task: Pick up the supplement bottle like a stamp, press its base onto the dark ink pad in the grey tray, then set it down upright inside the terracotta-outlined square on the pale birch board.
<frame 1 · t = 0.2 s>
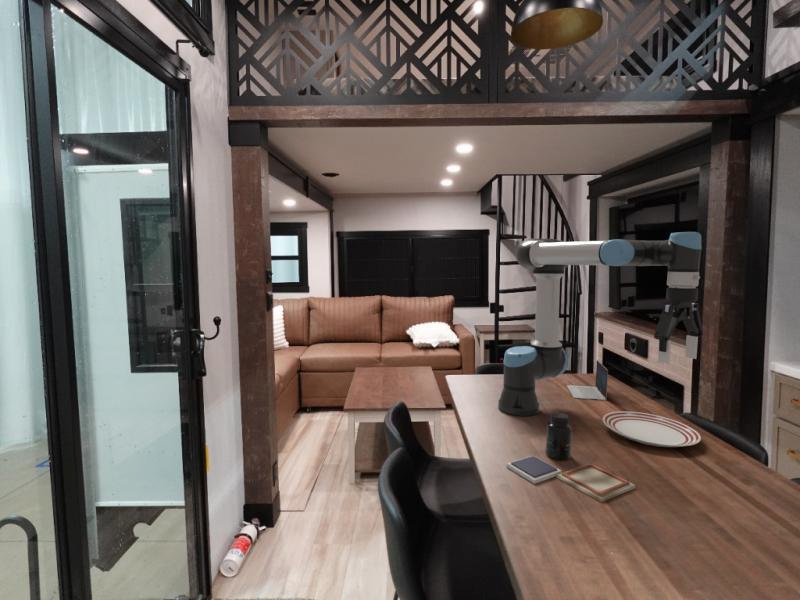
hand: (677, 360, 122), 28 cm above the table, tool pointing down, fingers open, 13 cm apart
supplement bottle: (558, 456, 122), on the table
ink pad: (533, 470, 114), on the table
dinner plate: (648, 436, 137), on the table
laptop: (585, 394, 181), on the table
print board: (594, 482, 107), on the table
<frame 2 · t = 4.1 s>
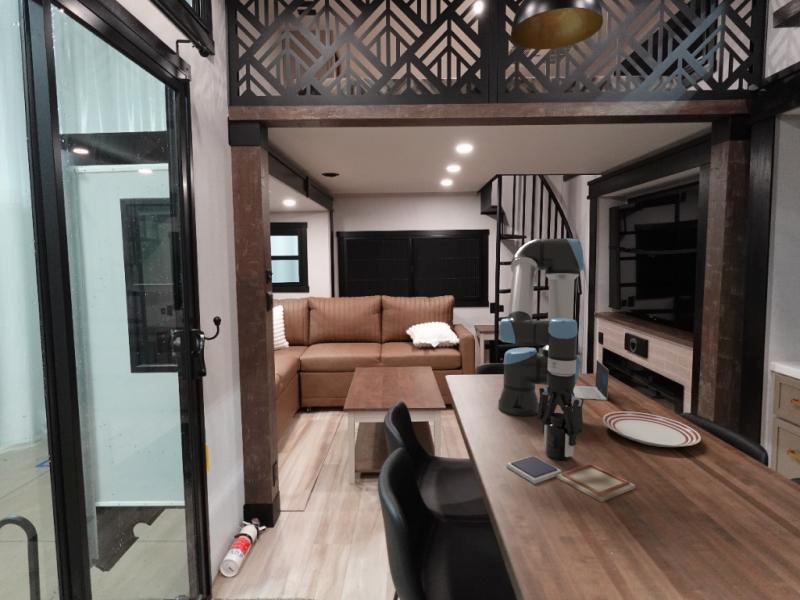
hand: (558, 450, 122), 2 cm above the table, tool pointing down, fingers closed on supplement bottle, 7 cm apart
supplement bottle: (558, 456, 122), on the table, touching gripper
everything else where it was.
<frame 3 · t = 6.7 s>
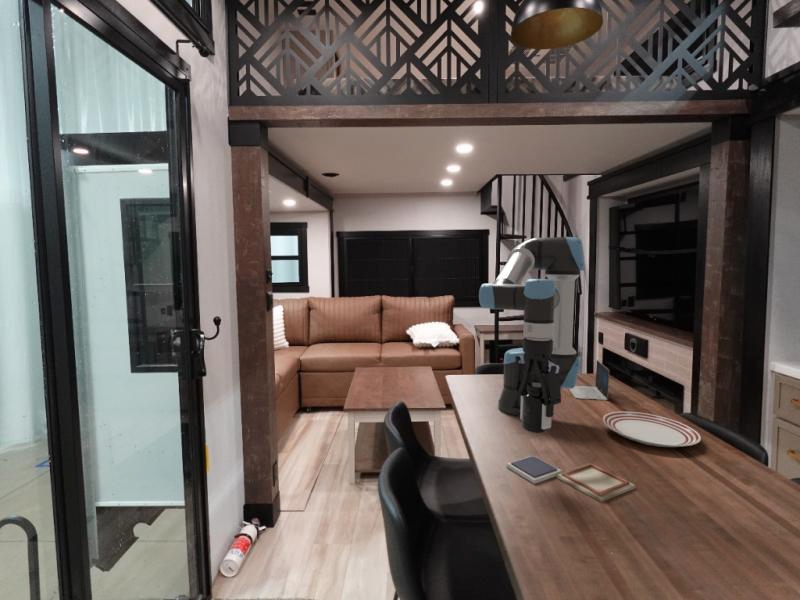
hand: (535, 423, 112), 13 cm above the table, tool pointing down, fingers closed on supplement bottle, 7 cm apart
supplement bottle: (534, 429, 112), point 11 cm above the table, touching gripper
everything else where it was.
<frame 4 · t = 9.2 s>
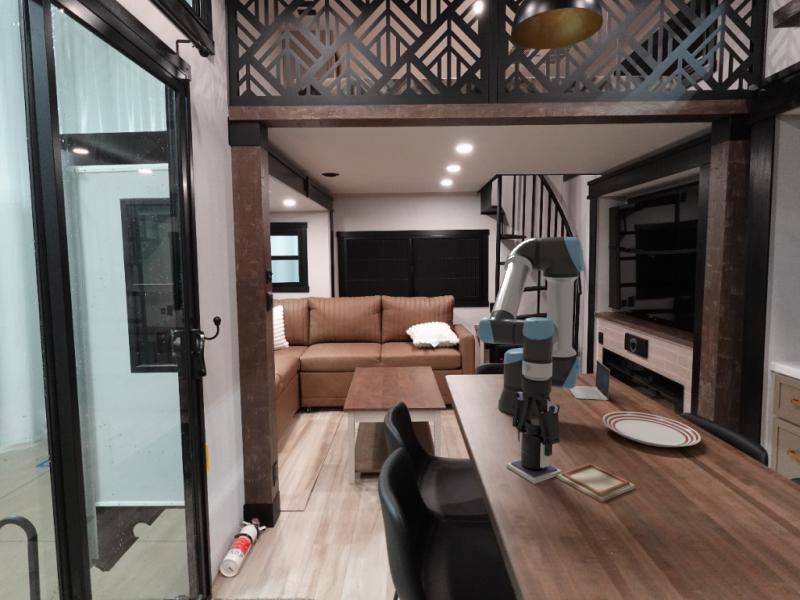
hand: (533, 460, 113), 3 cm above the table, tool pointing down, fingers closed on supplement bottle, 7 cm apart
supplement bottle: (533, 466, 113), point 1 cm above the table, touching gripper, ink pad
everything else where it was.
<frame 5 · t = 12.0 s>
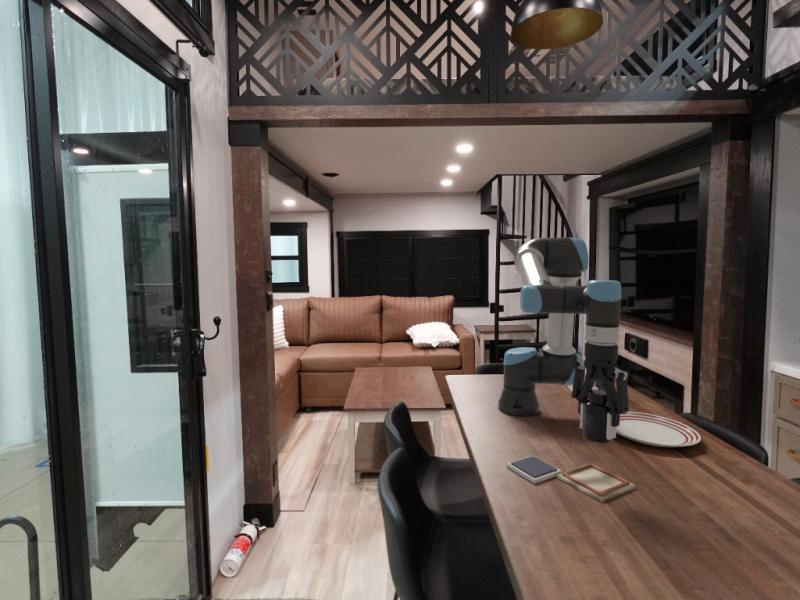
hand: (597, 432, 106), 13 cm above the table, tool pointing down, fingers closed on supplement bottle, 7 cm apart
supplement bottle: (596, 439, 106), point 12 cm above the table, touching gripper
everything else where it was.
when the fingers open (3 cm above the table, at t = 14.5 s): supplement bottle stays where it is, resting on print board.
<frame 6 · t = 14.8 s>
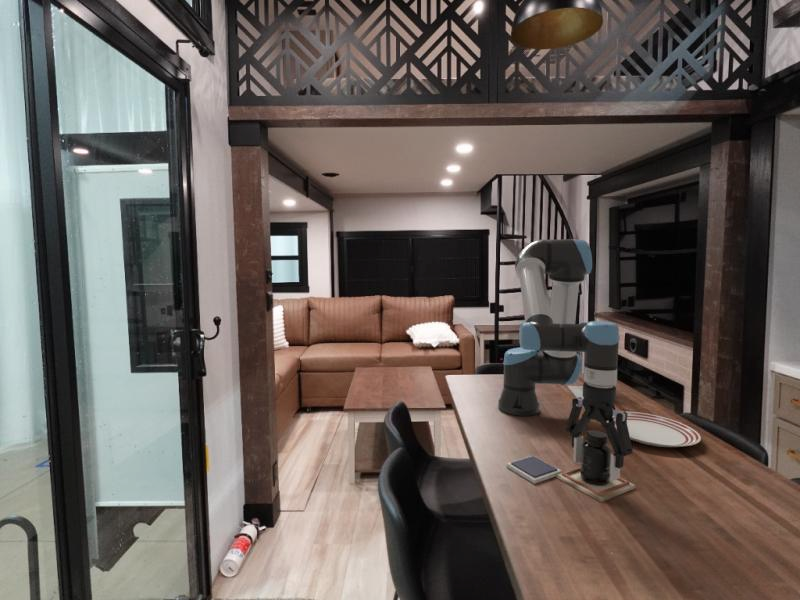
hand: (595, 469, 107), 3 cm above the table, tool pointing down, fingers open, 10 cm apart
supplement bottle: (594, 480, 107), point 1 cm above the table, touching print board
everything else where it was.
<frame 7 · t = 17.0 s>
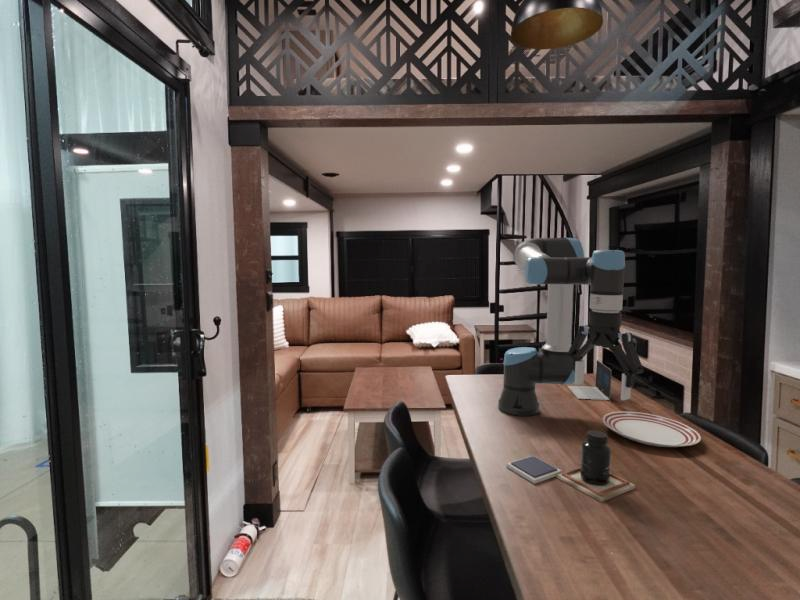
hand: (600, 391, 110), 22 cm above the table, tool pointing down, fingers open, 13 cm apart
nothing on the table moved.
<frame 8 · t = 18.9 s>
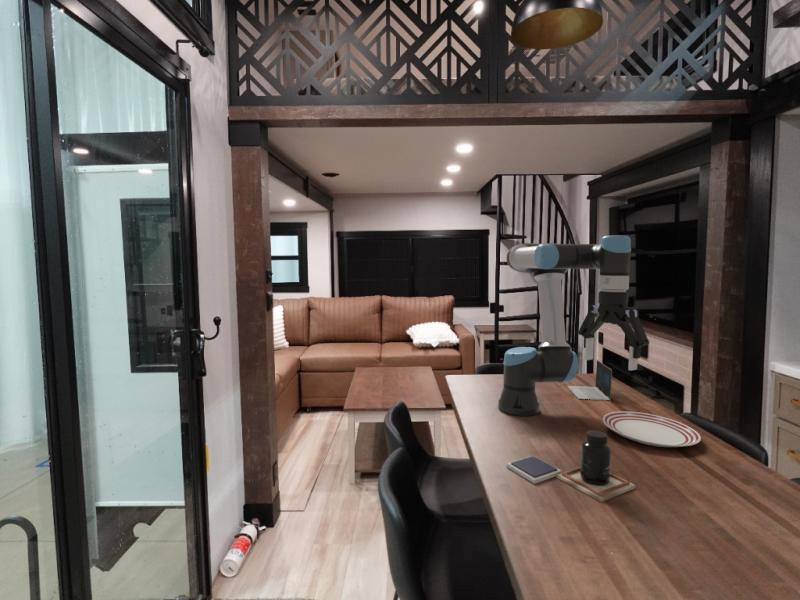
hand: (609, 364, 121), 27 cm above the table, tool pointing down, fingers open, 13 cm apart
nothing on the table moved.
at the end: supplement bottle inside the target area on the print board (0.1 cm from its centre), point 0.6 cm above the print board's base; supplement bottle tilted 0°; the gripper is holding nothing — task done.
